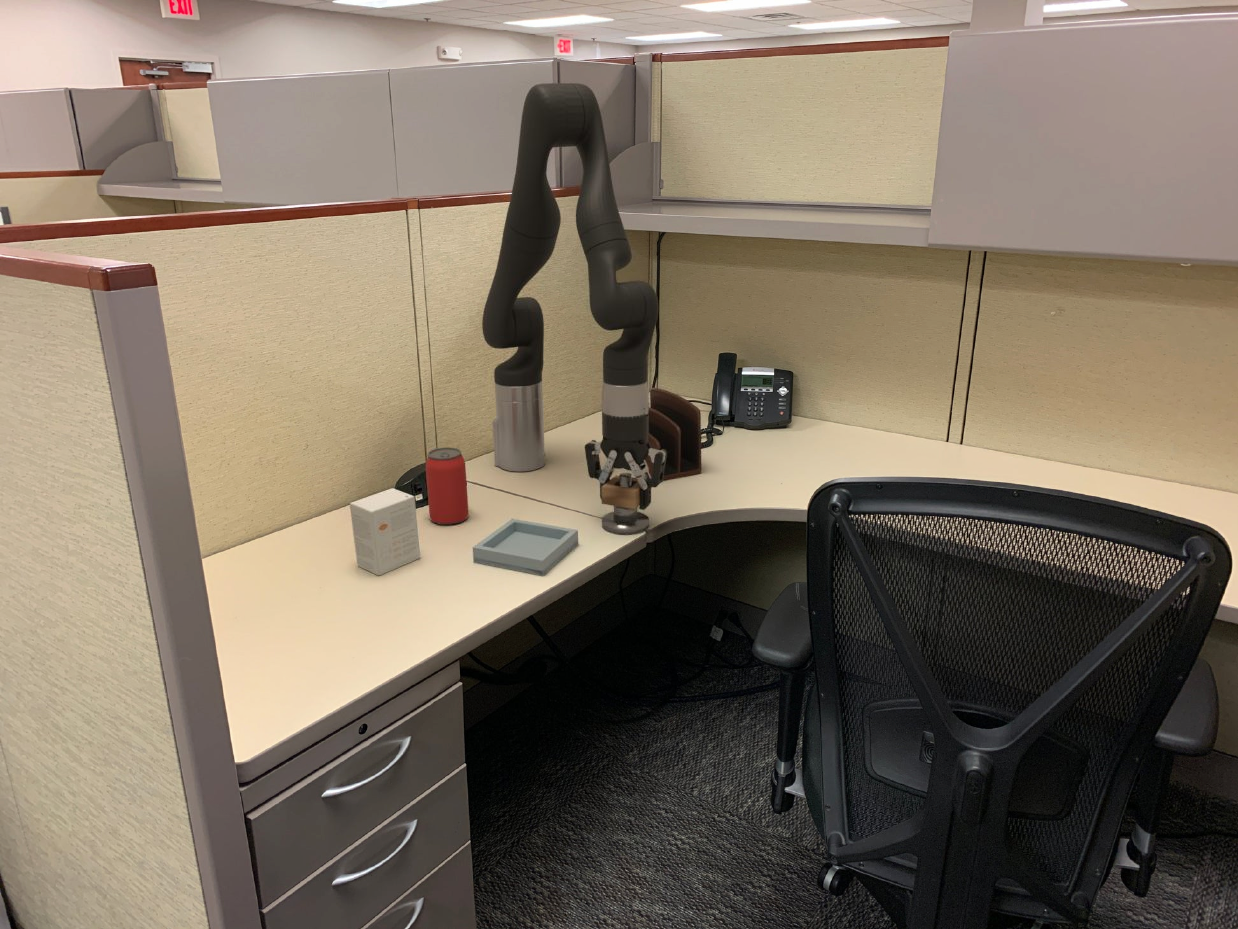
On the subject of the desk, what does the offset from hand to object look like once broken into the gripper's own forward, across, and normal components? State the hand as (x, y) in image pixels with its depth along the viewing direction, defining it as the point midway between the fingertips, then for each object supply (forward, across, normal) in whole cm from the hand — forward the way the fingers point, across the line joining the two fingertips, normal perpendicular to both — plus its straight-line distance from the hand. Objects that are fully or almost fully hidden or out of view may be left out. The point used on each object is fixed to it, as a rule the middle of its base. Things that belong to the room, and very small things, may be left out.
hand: (625, 505), depth 145 cm
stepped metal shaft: (+4, 0, 0) cm, 4 cm away
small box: (+4, -28, -27) cm, 39 cm away
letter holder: (+4, -7, +31) cm, 32 cm away
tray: (+4, -10, -16) cm, 19 cm away
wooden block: (-1, 0, 0) cm, 1 cm away
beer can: (+4, -29, -9) cm, 31 cm away
